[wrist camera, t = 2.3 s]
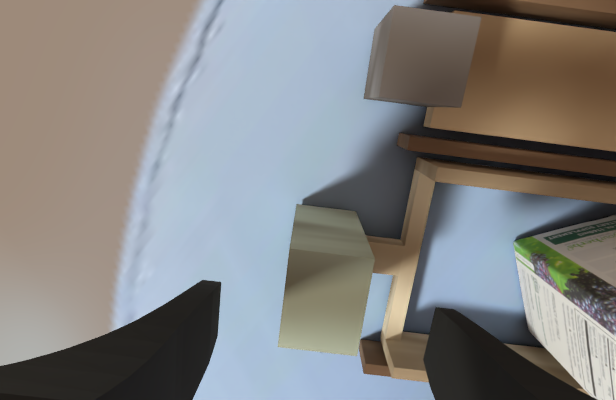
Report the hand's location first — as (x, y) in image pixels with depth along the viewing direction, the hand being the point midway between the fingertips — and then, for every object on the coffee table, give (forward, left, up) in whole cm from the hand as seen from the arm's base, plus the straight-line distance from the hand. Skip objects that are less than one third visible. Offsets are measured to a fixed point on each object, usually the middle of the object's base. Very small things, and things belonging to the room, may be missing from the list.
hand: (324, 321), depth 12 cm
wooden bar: (+9, -10, -7) cm, 15 cm away
